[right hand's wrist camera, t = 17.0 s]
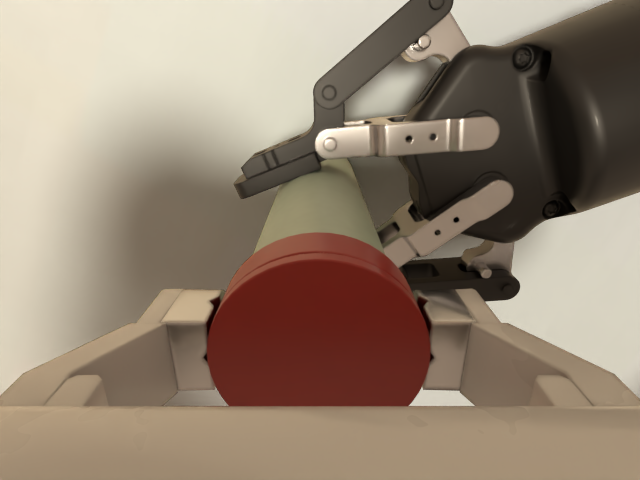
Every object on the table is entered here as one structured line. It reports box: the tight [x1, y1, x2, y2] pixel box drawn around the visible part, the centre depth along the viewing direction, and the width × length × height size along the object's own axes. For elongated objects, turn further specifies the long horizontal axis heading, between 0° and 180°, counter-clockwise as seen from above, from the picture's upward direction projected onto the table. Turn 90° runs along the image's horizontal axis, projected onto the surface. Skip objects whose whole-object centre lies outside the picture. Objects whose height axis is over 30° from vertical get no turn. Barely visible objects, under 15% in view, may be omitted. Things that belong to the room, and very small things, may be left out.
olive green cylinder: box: [253, 158, 385, 255], centre depth 16 cm, size 4×4×16 cm
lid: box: [207, 232, 431, 406], centre depth 9 cm, size 5×5×2 cm
